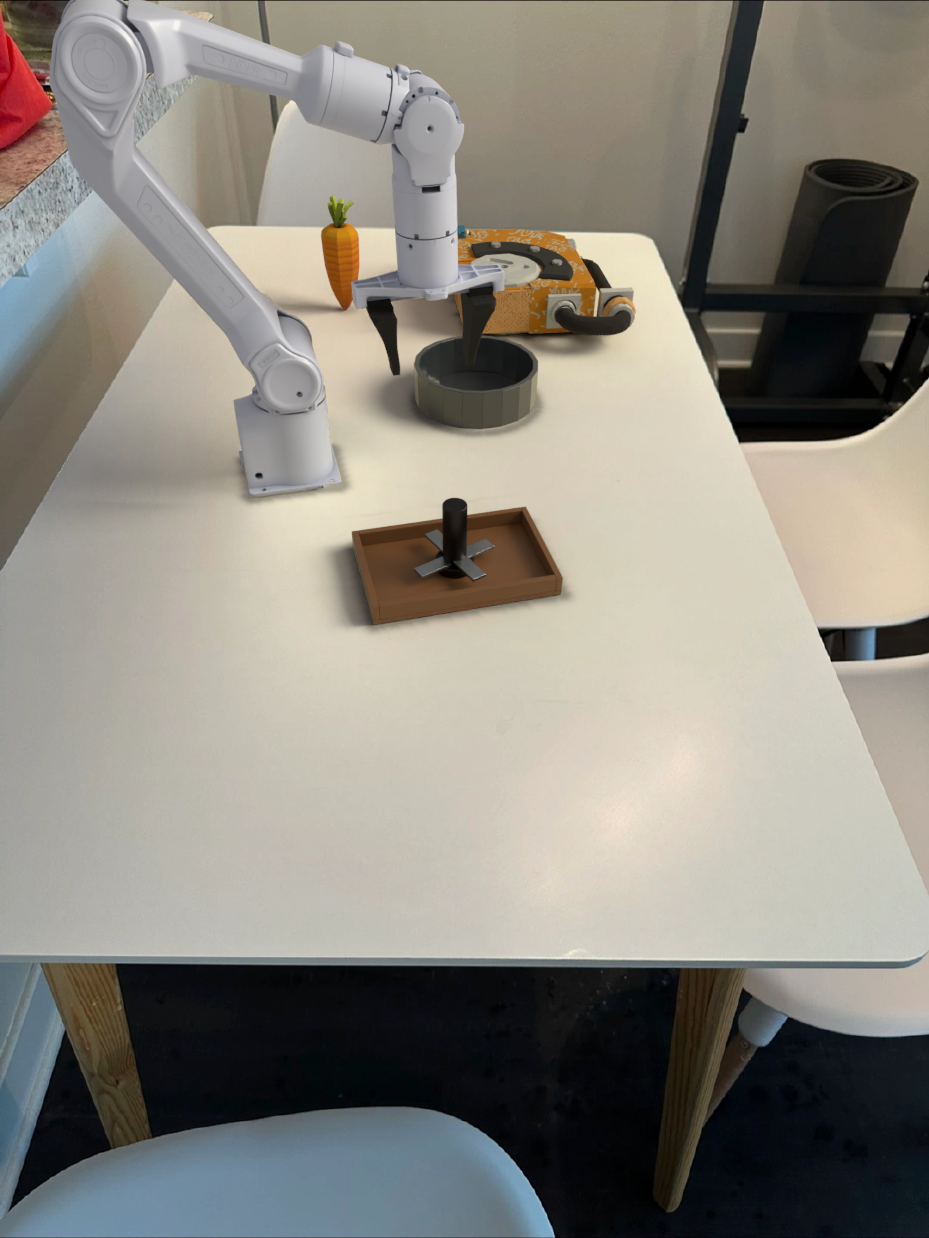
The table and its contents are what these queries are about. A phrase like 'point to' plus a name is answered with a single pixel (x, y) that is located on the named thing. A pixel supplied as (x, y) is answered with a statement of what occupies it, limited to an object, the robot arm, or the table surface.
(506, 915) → the table surface
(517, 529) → the tray
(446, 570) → the blade
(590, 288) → the device
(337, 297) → the carrot
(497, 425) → the processor bowl
